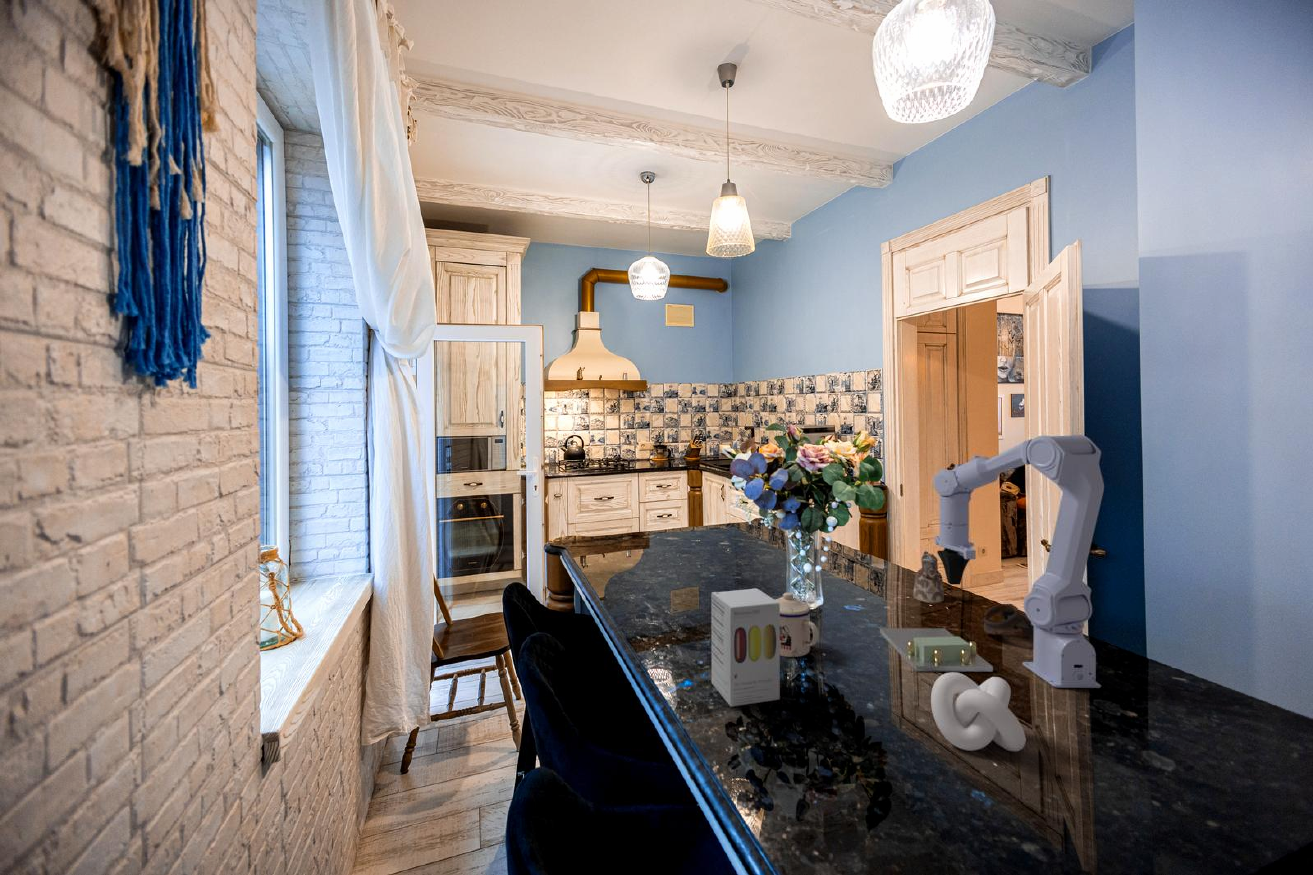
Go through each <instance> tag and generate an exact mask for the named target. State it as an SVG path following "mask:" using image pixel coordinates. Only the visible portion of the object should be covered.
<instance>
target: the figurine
mask: <svg viewBox="0 0 1313 875" xmlns="http://www.w3.org/2000/svg"><path fill="white" fill-rule="evenodd" d="M943 582H944V580H943V576H942V574H941V573H940V571H939V566H938V558H937V557H936V556H935V555H934V554H933V553H929V552H928V551H923V555H922V557H921V568H919V569H918V570H917V572H916V574H915V578H914V587H913V598H914V599H916V600H918V601H921V602H925V603H934V604H936V603H943V602H944V600H945V596H944V595H945V594H944V584H943ZM942 601H943V602H942Z"/></svg>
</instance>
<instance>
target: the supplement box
mask: <svg viewBox="0 0 1313 875" xmlns="http://www.w3.org/2000/svg"><path fill="white" fill-rule="evenodd" d="M780 657H781V656H780V604H779V602H777V601H776V600H775V599H774V597H771V596H769V595H768V594H767V593H765V592H763V591H762V590H760V589H758V588H756V587H755V588H749V589H737V590H729V591H712V592H711V684H712V685H713V686H714V688H715V689H716V690H717V691H718V693H719V694H720V696H721V697H723V699H724V701H725V702H726V703H727V704H728V705H729V707H731V708H733V707H738V706H745V705H750V704H757V703H763V702H770V701H777V700H780V698H781V696H780V695H781V694H780V687H781V686H780V685H781V684H780V682H781V681H780V680H781V679H780V678H781V675H780V673H781V672H780V668H781V667H780V661H781V658H780Z"/></svg>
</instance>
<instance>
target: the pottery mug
mask: <svg viewBox="0 0 1313 875" xmlns="http://www.w3.org/2000/svg"><path fill="white" fill-rule="evenodd" d="M996 614H1000V615H1001V617H1002V618H1003V619H1004V620H1002V621H990V619H991V618H992V617H993V616H995V615H996ZM983 616H984V618H983V619H982V621H983V622H984V623H983V624H984V625H983V629H984V634H985V635H986V636H989V635H990V634H991V635H993V636H994V635H995V636H997V635H1005V634H1010V635H1012V636H1016V633H1015V630H1016V631H1017V630H1019V629H1021V631H1022V635H1023V636H1025V637H1032V638H1034V625H1031V621H1030V620H1029V618H1028V617H1027V615H1026V613H1025V611H1023V610H1020V609H1019V608H1018V607H1017V606H1016V605H1014V604H1013V603H1002V604H997V605H994V606H993V607H990V608H989V609H988V610H986V611H985V612H984V613H983Z"/></svg>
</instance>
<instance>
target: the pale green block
mask: <svg viewBox="0 0 1313 875" xmlns="http://www.w3.org/2000/svg"><path fill="white" fill-rule="evenodd" d="M914 642H915V654H916V655H917V656H919V657H920V658H921V659H922V660H923V661H934V650H935V649H939V650H941V661H951V660H961V650H962V649H966V650H968V651H969V660H970V644H969V642H967V641H966V640H964V639H963V638H961V637H960V636H955V637H919V638H914Z"/></svg>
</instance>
